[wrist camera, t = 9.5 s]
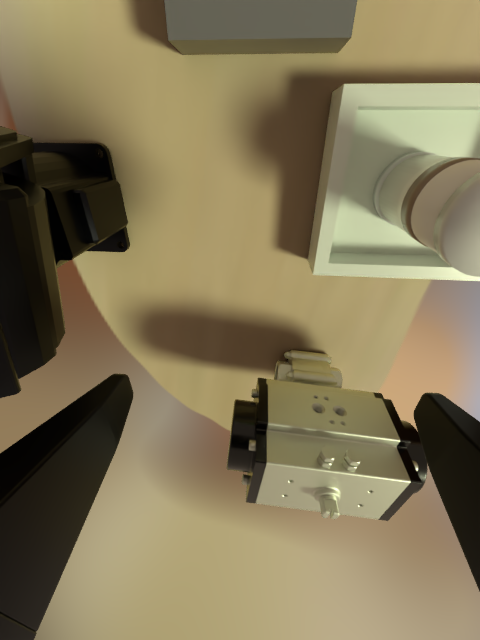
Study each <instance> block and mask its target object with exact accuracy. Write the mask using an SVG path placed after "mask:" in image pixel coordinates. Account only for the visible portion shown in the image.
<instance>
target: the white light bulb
mask: <svg viewBox="0 0 480 640" xmlns="http://www.w3.org/2000/svg"><path fill="white" fill-rule="evenodd" d="M372 199H373V206H374V209H375V211H376V212H377V214H378V215H379V216H380V217H381V218H382V219H384V220H385V221H387V222H388V223H390V224H392V225H395V226H398V227H399V228H400V229H402V230H403V231H405V232H406V233H407V234H408V235H409V236H411V237H412V238H413V239H415V240H416V241H418V242H419V243H421V244H422V245H424V246H426V247H429V248H430V249H432V250H433V251H435V252H436V253H438V255H439V256H440V258H441V259H442V260H444V261H445V262H446V263H448V264H449V265H450V266H452V267H453V268H455V269H456V270H458V271H460V272H461V273H464V274H466V275H470V276H476V277H480V158H470V157H446V156H439V155H437V154H434V153H429V152H411V153H407V154H404V155H402V156H400V157H398V158H396V159H395V160H394V161H392V162H391V163H390V164H389V165H388V166H387V167H386V168H385V169H384V170H383V171H382V173H381V174H380V175H379V177H378V179H377V181H376V183H375V186H374V189H373V198H372Z"/></svg>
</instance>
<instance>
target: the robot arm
mask: <svg viewBox="0 0 480 640" xmlns="http://www.w3.org/2000/svg"><path fill="white" fill-rule="evenodd" d="M99 149H100V150H101V151H102V152H103V157H102V158H101V157H100V156H99V154H98V150H99ZM127 224H128V221H127V216H126V212H125V207H124V202H123V197H122V193H121V188H120V184H119V183H118V182H117V181H116V178H115V173H114V168H113V164H112V159H111V155H110V151H109V149H108V148H107V147H106V146H105V145H104V144H100V143H33V141H32V138H31V137H28V136H24V135H20V134H17V133H16V131H14V130H11V129H8V128H5V127H2V126H0V398H2V397H6V396H10V395H15V394H17V393H19V392H20V391H21V387H20V384H19V380H18V379H20V378H21V377H23V376H25V375H27V374H29V373H31V372H32V371H34V370H36V369H38V368H40V367H41V366H43V365H45V364H46V363H47V362H48V361H49V360H50V359H52V358H53V357H54V356H55V355H56V348H57V347H58V346H59V344H60V342H61V339H62V338H63V336H64V334H65V322H64V315H63V308H62V302H61V295H60V288H59V282H58V276H57V268H58V267H60V266H61V265H63V264H64V263H66V262H68V261H69V260H72V259H74V258H75V257H77V256H78V255H80V254H82V253H83V252H85V251H105V252H125V251H126V250H127V249H129V247H130V242H129V238H128V233H127V228H126V225H127ZM119 241H120V242H122V243H123V244H124V247H122V246H121V245H120V243H119ZM132 400H133V390H132V387H131V383H130V380H129V377H128V376H127V375H126V374H113V375H111V376H110V377H108V378H107V379H105V380H104V381H103V382H101V383H100V384H98V385H97V386H96V387H94V388H93V389H91V390H90V391H88V392H87V393H86V394H84V395H83V396H81V397H80V398H78V399H77V400H76V401H74V402H73V403H71V404H70V405H68V406H67V407H66V408H64V409H63V410H61V411H60V412H59V413H57V414H56V415H54V416H53V417H51V418H50V419H49V420H47V421H46V422H44V423H43V424H41V425H40V426H39V427H37V428H36V429H34V430H33V431H32V432H30V433H29V434H28V435H26V436H24V437H23V438H22V439H20V440H19V441H18V442H16V443H15V444H13V445H12V446H10V447H9V448H8V449H6V450H5V451H3V452H2V453H0V640H34V638H35V636H36V631H37V630H38V628H39V626H40V623H41V621H42V619H43V617H44V615H45V612H46V610H47V608H48V605H49V603H50V601H51V598H52V596H53V594H54V592H55V589H56V587H57V585H58V582H59V580H60V578H61V575H62V573H63V571H64V569H65V566H66V564H67V562H68V559H69V557H70V555H71V552H72V550H73V548H74V545H75V543H76V541H77V538H78V536H79V534H80V532H81V530H82V527H83V525H84V523H85V520H86V518H87V516H88V513H89V511H90V509H91V506H92V504H93V502H94V500H95V497H96V495H97V493H98V490H99V488H100V486H101V484H102V481H103V479H104V477H105V474H106V472H107V470H108V467H109V465H110V463H111V461H112V458H113V456H114V454H115V451H116V449H117V446H118V444H119V441H120V438H121V435H122V431H123V428H124V425H125V422H126V419H127V416H128V413H129V409H130V406H131V403H132ZM414 420H415V423H416V426H417V430H418V433H419V436H420V440H421V443H422V447H423V450H424V453H425V457H426V460H427V463H428V466H429V469H430V472H431V474H432V477H433V479H434V482H435V484H436V487H437V489H438V491H439V494H440V496H441V499H442V501H443V504H444V506H445V509H446V511H447V513H448V516H449V518H450V521H451V523H452V526H453V528H454V530H455V533H456V535H457V538H458V540H459V542H460V545H461V547H462V550H463V552H464V555H465V557H466V559H467V562H468V564H469V567H470V569H471V572H472V574H473V576H474V579H475V581H476V584H477V586H478V588H479V591H480V422H479V421H478V420H476V419H475V418H474V417H472V416H471V415H469V414H468V413H467V412H465V411H464V410H462V409H461V408H460V407H458V406H457V405H456V404H454V403H453V402H451V401H450V400H449V399H447V398H446V397H445V396H443V395H441V394H439V393H425V394H423V395H422V397H421V399H420V401H419V402H418V404H417V406H416V408H415V410H414Z"/></svg>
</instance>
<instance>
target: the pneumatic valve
mask: <svg viewBox="0 0 480 640" xmlns="http://www.w3.org/2000/svg"><path fill="white" fill-rule="evenodd" d="M284 357H285V358H286V359H288V362H284V361H278V362H277V363H276V367H275V373H274V380H271V379H264V378H258V381H257V386H256V389H252V397H253V398H254V402H253V401H245V400H238V399H236V400H235V402H234V410H233V418H232V426H231V435H230V442H229V450H228V459H227V469H228V470H234V471H242V472H247V475H244V474H243V476H242V484H244V485H247V490H246V502H249V503H256V504H264V505H272V506H279V507H288V508H294V509H302V510H310V511H317V512H321V515H322V517H323V518H327V517H328V516H329V514H330V517H331V519H336V518H338V517H339V514H340V515H348V516H355V517H363V518H370V519H378V520H386V521H388V520H389V519H390V518H391V517H392V516H393V515H394V514H395V513H396V511H397V510H398V509H399V508H400V507H401V506H402V505H403V504H404V503H405V502H406V501H407V500H408V499H409V497H410V496H411V495H412V494H413V493H417V492H418V491H419V490H420V489H421V488H422V487H423V485H424V483H425V480H426V476H427V460H426V457H425V453H424V450H423V447H422V443H421V440H420V436H419V433H418V432H417V430H416V429H415V428H414V427H413V426H412V425H411V424H410V423H408V422H406V421H401V420H400V418H399V416H398V414H397V412H396V410H395V407H394V405H393V403H392V401H391V400H388V399H384V398H383V395H382V394H381V393H373V392H366V391H358V390H350V389H342V374H341V371H340V370H339V369H337V368H332V367H330V365H329V364H330V363H331V357H328V355H327V354H321V353H313V352H305V351H297V350H290V351H289V352H287V351H286V353H284Z"/></svg>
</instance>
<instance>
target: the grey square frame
mask: <svg viewBox="0 0 480 640" xmlns="http://www.w3.org/2000/svg"><path fill="white" fill-rule="evenodd" d="M164 3H165V13H166V23H167V33H168V41H169V42H170V43H171V44H172V45H173V46H174V47H175V48H176V49H177V50H178V51H179V52H180V53H181V54H182V55H199V54H281V53H338V52H339V51H340V50H341V49H342V48H343V46H344V45H345V44H346V43H347V42H348V41H349V39H350V38H351V35H352V29H353V23H354V17H355V11H356V5H357V0H164Z"/></svg>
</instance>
